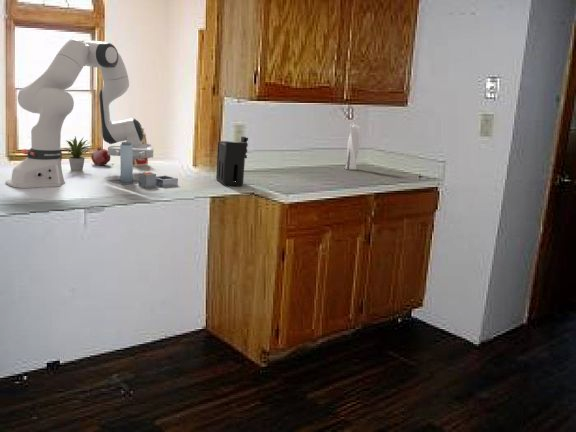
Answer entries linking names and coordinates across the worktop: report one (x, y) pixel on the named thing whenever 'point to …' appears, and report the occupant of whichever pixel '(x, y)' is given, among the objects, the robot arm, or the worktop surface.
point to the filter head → (156, 181)
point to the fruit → (100, 156)
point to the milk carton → (141, 160)
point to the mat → (123, 182)
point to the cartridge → (126, 162)
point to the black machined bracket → (231, 162)
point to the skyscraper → (353, 147)
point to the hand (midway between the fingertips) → (129, 154)
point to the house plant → (77, 155)
